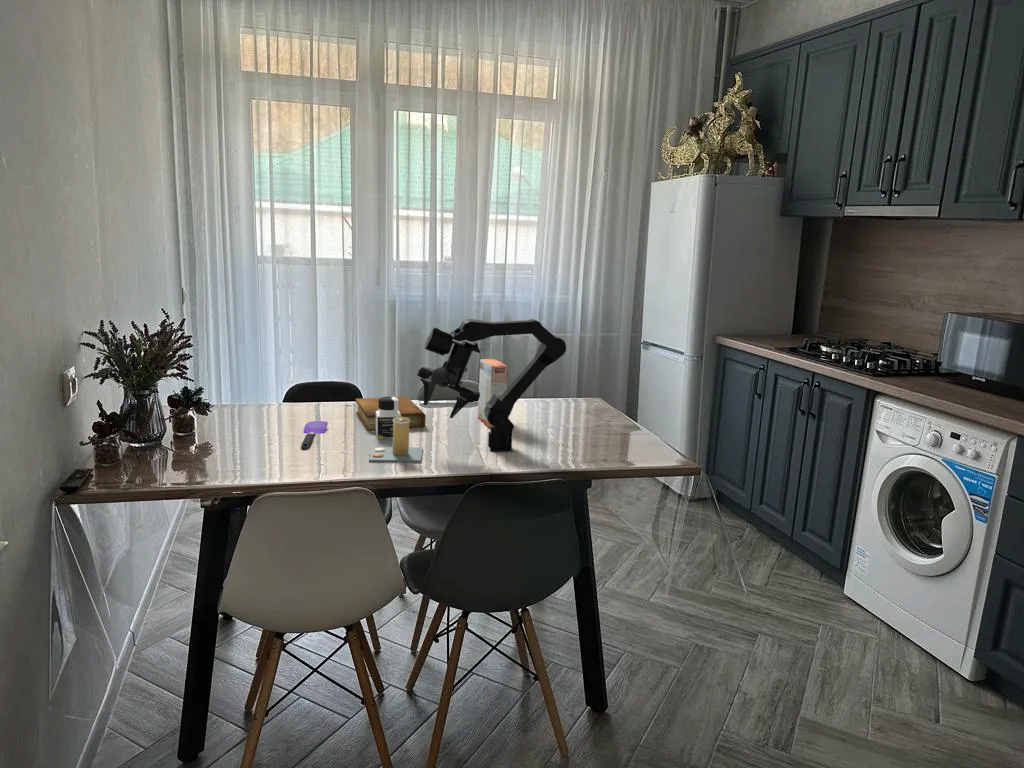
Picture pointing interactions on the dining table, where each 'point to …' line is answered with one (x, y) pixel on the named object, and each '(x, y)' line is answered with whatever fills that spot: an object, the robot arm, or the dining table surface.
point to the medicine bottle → (386, 416)
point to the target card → (387, 455)
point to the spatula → (313, 432)
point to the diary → (405, 407)
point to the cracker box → (490, 384)
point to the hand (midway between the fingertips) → (437, 411)
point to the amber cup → (401, 436)
